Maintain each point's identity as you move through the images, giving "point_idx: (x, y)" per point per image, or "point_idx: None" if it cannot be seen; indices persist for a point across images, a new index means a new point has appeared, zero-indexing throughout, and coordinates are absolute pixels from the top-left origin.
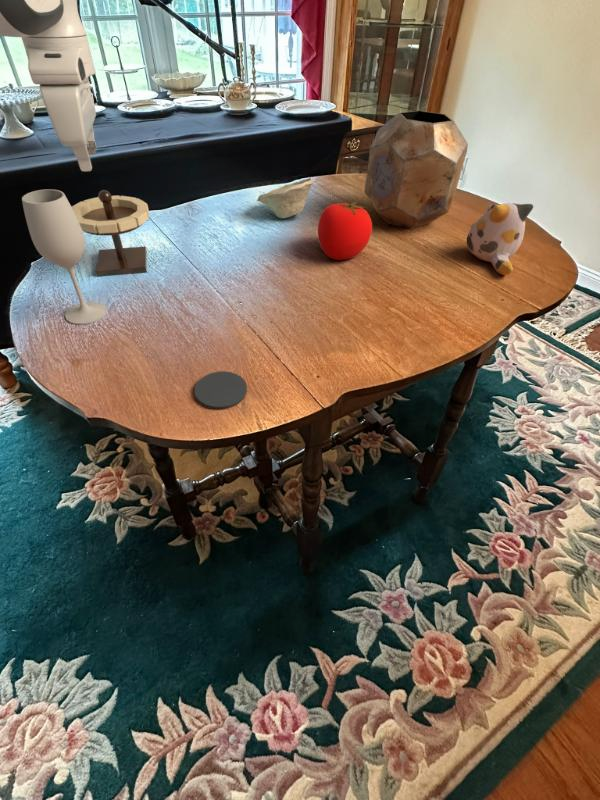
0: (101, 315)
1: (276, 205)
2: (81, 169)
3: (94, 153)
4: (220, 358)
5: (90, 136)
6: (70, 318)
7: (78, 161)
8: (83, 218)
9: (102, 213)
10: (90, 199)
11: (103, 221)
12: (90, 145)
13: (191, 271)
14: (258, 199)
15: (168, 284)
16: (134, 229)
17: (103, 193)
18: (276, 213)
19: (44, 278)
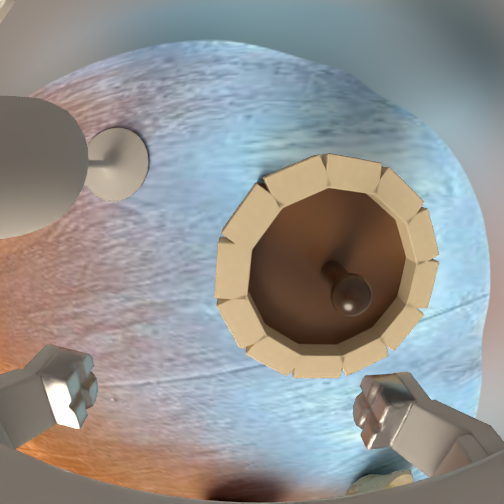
0: (96, 192)
1: (360, 491)
2: (47, 347)
3: (353, 405)
4: (8, 338)
5: (414, 450)
6: (98, 139)
7: (26, 365)
8: (286, 202)
9: (368, 250)
10: (428, 229)
11: (245, 263)
12: (371, 424)
13: (228, 361)
14: (389, 477)
15: (186, 318)
16: None
17: (342, 300)
18: (364, 479)
19: (280, 77)
